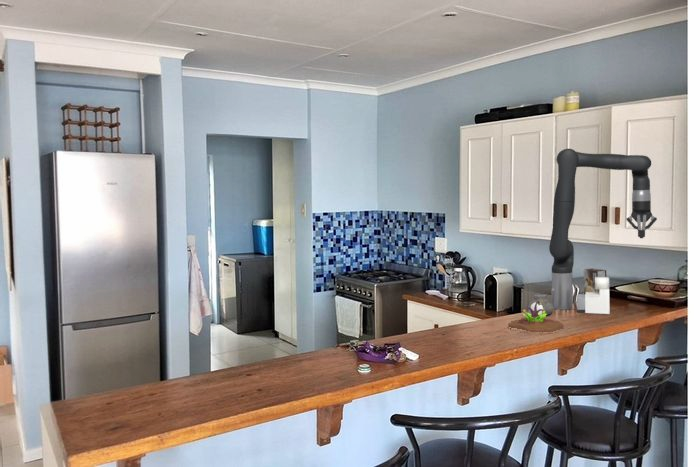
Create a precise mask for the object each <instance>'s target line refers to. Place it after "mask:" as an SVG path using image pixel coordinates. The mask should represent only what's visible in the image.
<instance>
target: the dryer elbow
mask: <svg viewBox="0 0 700 467" xmlns="http://www.w3.org/2000/svg"><path fill="white" fill-rule="evenodd" d="M595 289H599V290H600V293H596V292H586V294H585V313H584V314H597V315H598V314H600V315H601V314H602V315H610V311H611V310H610V309H611V308H610V306H611V305H610V302H611V301H610V277H608V276H606V277H595Z"/></svg>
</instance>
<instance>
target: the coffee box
mask: <svg viewBox="0 0 700 467" xmlns="http://www.w3.org/2000/svg"><path fill="white" fill-rule="evenodd" d="M595 277H607V269H606V270H605V269H601V268H600V269H599V268H585V269H583V294H586V292H596V293H600V290H599V289H595Z"/></svg>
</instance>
